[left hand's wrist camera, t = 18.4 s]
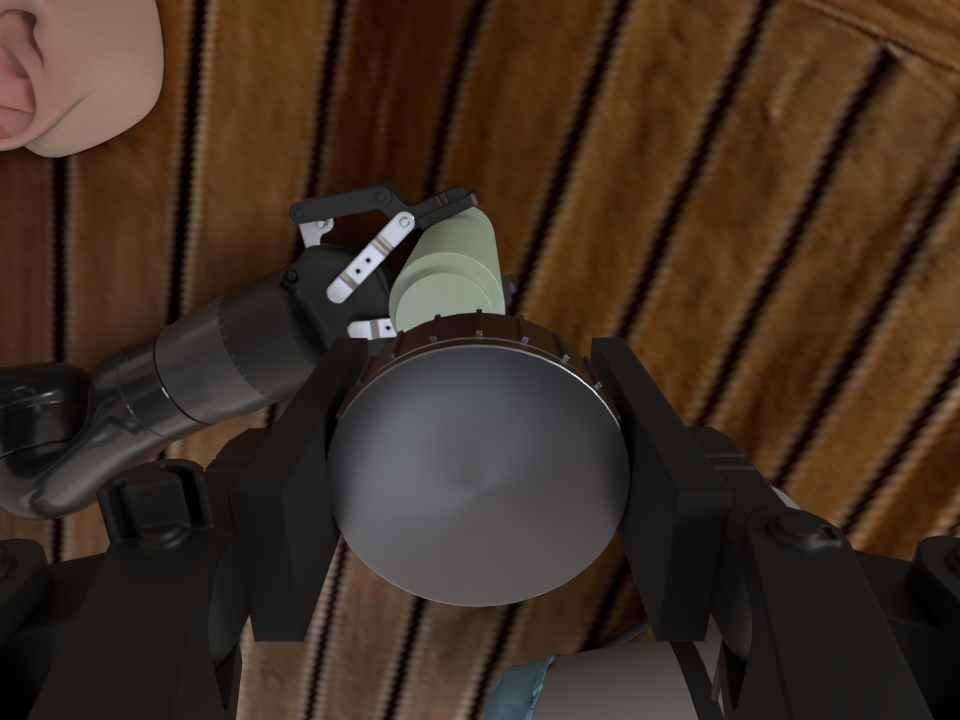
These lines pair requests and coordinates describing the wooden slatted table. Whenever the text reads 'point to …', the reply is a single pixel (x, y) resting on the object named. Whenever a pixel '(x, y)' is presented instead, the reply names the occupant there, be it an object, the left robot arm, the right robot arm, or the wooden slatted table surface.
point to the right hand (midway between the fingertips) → (495, 240)
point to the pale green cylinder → (449, 273)
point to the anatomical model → (76, 71)
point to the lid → (478, 461)
